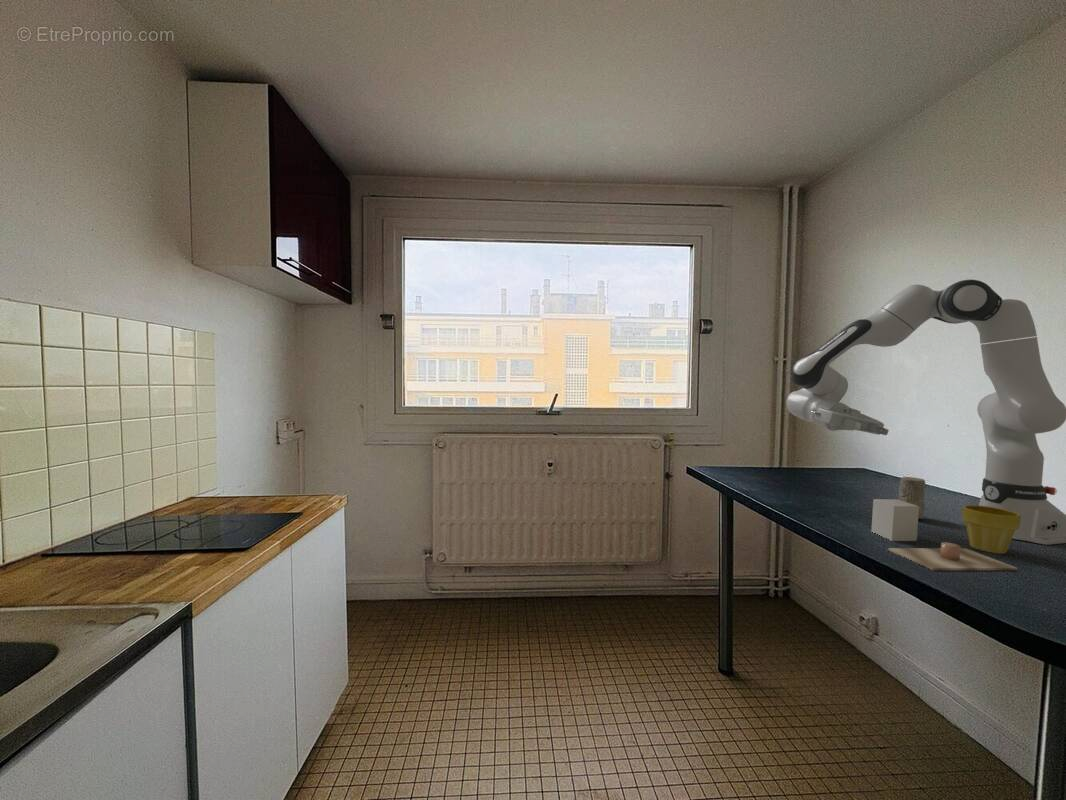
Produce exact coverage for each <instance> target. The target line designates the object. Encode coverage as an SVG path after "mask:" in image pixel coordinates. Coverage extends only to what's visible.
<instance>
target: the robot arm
mask: <svg viewBox="0 0 1066 800" xmlns="http://www.w3.org/2000/svg"><path fill="white" fill-rule="evenodd" d="M930 319H935V320H938V321H941V322H944V323H946V324H947V323H948V324H955V325H956V324H963V323H967V322H969V323H971V324H973V325H974V326H975V327H976V329H977V331H978V334H979V343H980V349H981V355H982V356H981V358H982V364H983V369H984V370H983V371H984V373H985V374H986V376H987V377H988V379H989V380H990V381H991V383H992V386H993V388H994V390H995V392H993V393H989V394H988V395H985V396H984V397H983V398H981V399H980V401H979V402H978V404H977V408H976V409H977V411H976V412H977V415H978V417H979V418H980V420H981V423H982V429H983V434H984V440H985V448H986V460H985V462H986V463H985V476H984V478H982V483H981V491H982V493H983V494H982V495H981V496H980V500H979V503H978V505H980V506H988V507H995V508H1000V509H1005V510H1009V511H1013V512H1016V513H1018V514H1020V516H1021V519H1020V526H1019V529H1017V530H1015V532H1014V534H1013V537H1012V539H1013V540H1019V541H1026V542H1031V543H1035V544H1039V545H1057V544H1059V545H1060V544H1066V514H1065V513H1064V512H1063V511H1062V510H1061V509H1059V508H1058V507H1057V506H1055V505H1054V504H1053V503H1051V502H1050V501H1049V500H1048V496H1047V494H1048V495H1049V496H1050V495H1051V496H1055V495H1056V494H1057V492H1058V490H1057V488H1056V487H1054V486H1053V487H1052V486H1051V487H1050V486H1047V485H1045V486H1044V485H1043V476H1044V475H1043V474H1044V473H1043V472H1044V462H1045V457H1044V454H1043V452H1042V451H1041V448H1040V447H1039V444H1038V441H1037V437H1036V434H1044V433H1049V432H1052V431H1055V430H1057V429H1059V428H1061V426H1063V424H1065V422H1066V406H1065V404H1064V403H1063V401H1061V400H1060V399H1059V397H1057V395H1056V394H1055V392H1054V390H1053V388H1052V386H1051V384H1050V382H1049V379H1048V377H1047V375H1046V373H1045V370H1044V367H1043V364H1042V361H1041V354H1040V353H1041V352H1040V348H1039V342H1038V335H1037V328H1036V325H1035V321H1034V318H1033V315H1032V313H1031V311H1030V309H1029V306H1028V305H1027V304H1026V303H1025V302H1024V301H1022V300H1019V299H1012V298H1008V299H1006V298H1005V299H1003V298H1002V296H1000V295H999V294H998V293H997V292H996V291H995V290H994V289H993V288H992V287H991V286H990V285H989V284H987V283H986V282H983V281H981V280H978V279H963V280H959V281H957V282H955V283H952V284H950V285H948V286H947V287H945V288H944V289H942V290H933V289H932V288H931V287H929V286H926V285H923V284H912V285H909V286H907V287H906V288H904V289H903V290H901V291H900V292H898V293H897V294H896V295H894V296H893V297H892V298H890V299H889V300H888V301H886V302H885V303H884V304H883V305H882V306H881V307H880V308H879V309H878V310H876V311H875V312H874V313H873V314H871V315H870V316H868V317H866V318H861V319H857V320H855V321H852V322H851V323H849V324H848V325H847V326H845V327H844V328H842V329H841V330H840V331H839V332H837V333H836V334H834V335H833V336H832V337H830V338H829V339H827V340H826V341H825V342H824V343H822V344H820V346H819V347H818V348H816V349H815V350H813V351H812V352H810V353H808V354H806V355H804V356H803V357H801V358H800V359H798V360H797V361H796V362H795V363H794V365H793V366H792V368H791V379H792V382H793V383H794V384H795V385H797V386H799V387H801V388H800V389H799V390H794V391H792V392H790V393H789V394H788V396H787V398H786V407H787V411H788V412H789V413H790V414H791V415H793V416H794V417H796V418H799V419H800V420H802V421H806V422H808V423H813V424H815V425H816V426H819V427H820V428H824V429H826V430H829V431H832V432H835V431H851V432H852V431H859V432H863V433H867V434H871V435H872V434H873V435H877V436H879V435H882V436H887V435H888V433H889V431H890V430H889V429H888V428H885V424H884V423H883V422H882V421H880V420H878V419H876V418H873V417H870V416H868V415H866V414H864V413H861V410H857V409H855V408H852V407H850V406H848V405H847V404H845V403H843V402H840V401H841V400H842V399H843V398H844V397H845V394H846V393H847V390H848V387H849V383H848V379H847V378H846V377H845V376H843V374H841V373H840V372H838V371H837V370H836V369H833V367H831V366H830V364H831V363H833V362H834V361H836V360H837V359H838V358H840V357H841V356H842V355H844V354H845V353H846V352H847V351H849V350H850V349H852V348H853V347H855V346H858V345H859V346H860V345H869V346H870V345H871V346H875V347H881V348H882V347H883V348H884V347H886V348H887V347H894V346H897V345H899V344H900V343H902V342H904V341H905V340H906V339H908V337H910V336H911V335H912V334H913V333H914V332H915V331H916V330H918V328H919V327H920V326H921V325H923V324H924V323H925V322H927V321H928V320H930ZM1012 539H1011V540H1012Z"/></svg>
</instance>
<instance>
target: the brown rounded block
mask: <svg viewBox="0 0 1066 800" xmlns="http://www.w3.org/2000/svg"><path fill="white" fill-rule="evenodd" d="M940 548H941V552H940V556H941V557H943V558H945V559H949V560H960V549H961V548H962V547H961V545H959V544H956V543H952V542H947V541H943V542H941V543H940Z"/></svg>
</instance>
